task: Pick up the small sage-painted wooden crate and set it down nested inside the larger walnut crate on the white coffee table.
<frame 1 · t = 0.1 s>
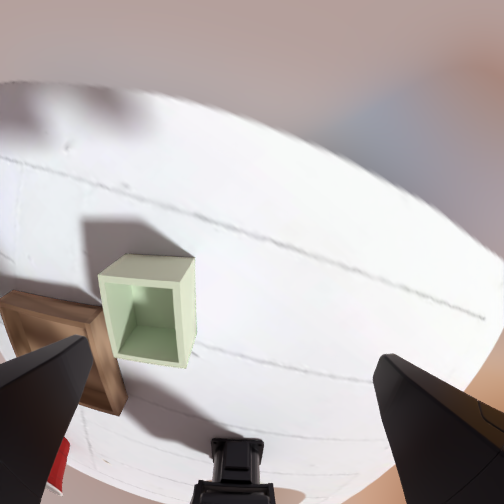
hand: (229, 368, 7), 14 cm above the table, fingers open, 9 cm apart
plastic cup: (58, 436, 31), on the table
big crate: (65, 346, 24), on the table
small crate: (161, 295, 22), on the table
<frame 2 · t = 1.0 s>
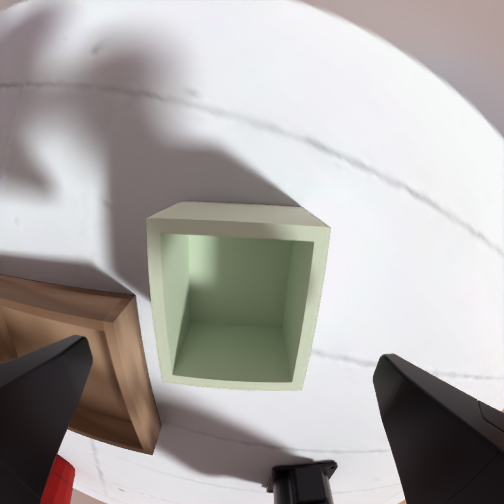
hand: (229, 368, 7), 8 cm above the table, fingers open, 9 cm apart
plastic cup: (60, 460, 23), on the table
big crate: (67, 355, 16), on the table
small crate: (238, 270, 14), on the table
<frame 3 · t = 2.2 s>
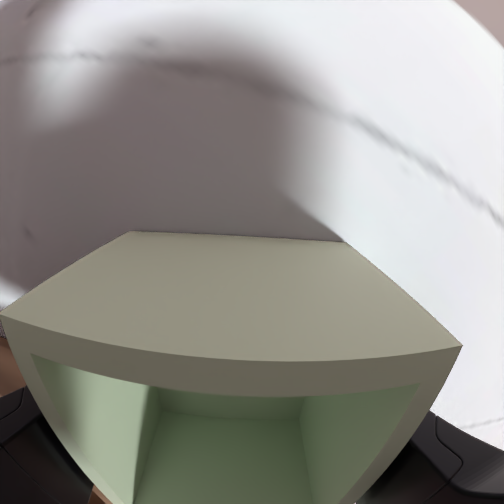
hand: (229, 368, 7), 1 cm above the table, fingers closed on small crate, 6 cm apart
big crate: (26, 411, 10), on the table
small crate: (232, 347, 8), on the table, touching gripper
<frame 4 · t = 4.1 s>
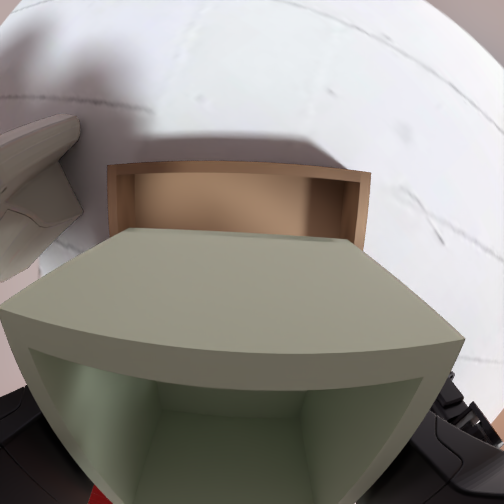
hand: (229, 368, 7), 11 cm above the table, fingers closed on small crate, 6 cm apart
digital clock: (33, 200, 17), on the table
big crate: (235, 259, 18), on the table
small crate: (232, 344, 8), point 10 cm above the table, touching gripper
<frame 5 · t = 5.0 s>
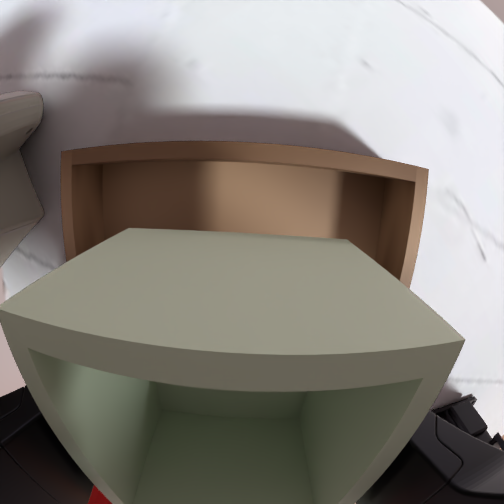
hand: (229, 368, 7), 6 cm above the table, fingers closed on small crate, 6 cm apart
plastic cup: (116, 471, 20), on the table
big crate: (236, 281, 13), on the table
small crate: (231, 344, 8), point 5 cm above the table, touching gripper
when the fingers open (3 cm above the table, at t = 6.0 s): small crate drops 2 cm, resting on big crate.
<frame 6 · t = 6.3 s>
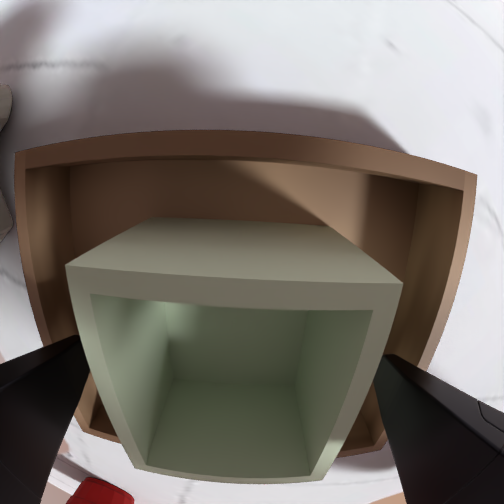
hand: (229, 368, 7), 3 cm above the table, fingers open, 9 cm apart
plastic cup: (111, 489, 18), on the table
big crate: (235, 309, 11), on the table
small crate: (235, 315, 10), point 1 cm above the table, touching big crate
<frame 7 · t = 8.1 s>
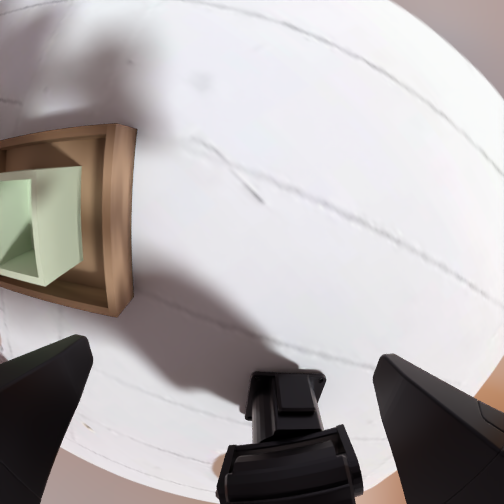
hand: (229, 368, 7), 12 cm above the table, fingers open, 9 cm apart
big crate: (56, 212, 17), on the table
small crate: (52, 212, 17), point 1 cm above the table, touching big crate
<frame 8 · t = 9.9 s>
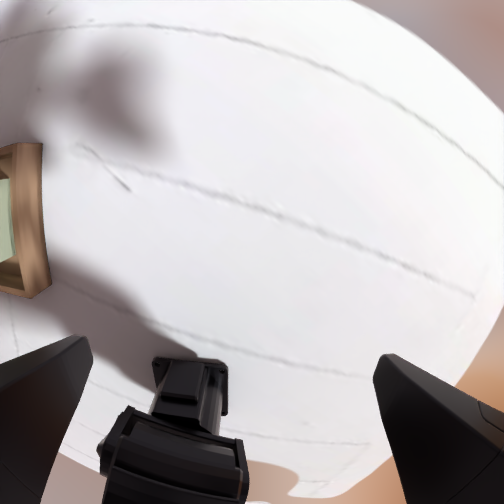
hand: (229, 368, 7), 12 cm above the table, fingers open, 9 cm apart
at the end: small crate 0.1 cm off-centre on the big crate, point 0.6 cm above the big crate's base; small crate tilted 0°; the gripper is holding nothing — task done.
